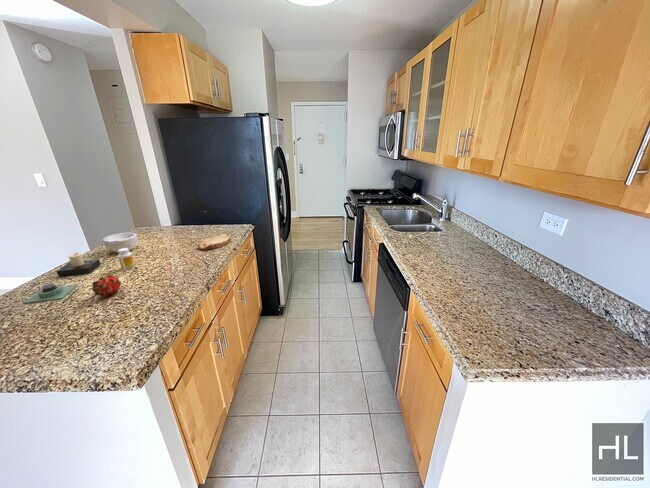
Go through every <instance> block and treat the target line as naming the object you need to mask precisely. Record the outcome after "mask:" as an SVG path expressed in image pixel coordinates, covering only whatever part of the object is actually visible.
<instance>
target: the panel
mask: <svg viewBox="0 0 650 488" xmlns="http://www.w3.org/2000/svg"><path fill="white" fill-rule="evenodd" d="M84 263H85V264H84V265H81V266H78V267H73V266H72V264H71V262H70V261H69V262H68V263H66V264H65V265H63V266H61V267H60V268H59V269H57V270H56V275H57V277H59V278H63V277H72V276H82V275H89V274H91V273H93V272H94V271H95V270H96V269H98V268H99V267H100V266H102V264H101V261H100V259H99V258H96V259H87V260H84Z"/></svg>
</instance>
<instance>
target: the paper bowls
mask: <svg viewBox="0 0 650 488" xmlns="http://www.w3.org/2000/svg"><path fill="white" fill-rule="evenodd" d="M102 242H103V245H104V248H105V249H106V250H110V251H111V252H113V253H117V254H119V253H118V250H119V249H122V248H128V250H129V251H131V250H133V249H134V248H135V246H136V245H138V243H139V240H138V236H137V234H136V233H134V232H120V233H115V234H110V235H108V236H105V237H104V238H103V239H102Z"/></svg>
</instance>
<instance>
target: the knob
mask: <svg viewBox="0 0 650 488" xmlns="http://www.w3.org/2000/svg"><path fill="white" fill-rule="evenodd" d="M68 259H69V262H71V264H72V266H73V267H78V266H81V265H84V264H85V263H84V261H85V260H84V258H83V255H82V253H79V252H75V253H73V254H70V255H68Z"/></svg>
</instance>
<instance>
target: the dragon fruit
mask: <svg viewBox="0 0 650 488" xmlns="http://www.w3.org/2000/svg"><path fill="white" fill-rule="evenodd" d="M121 285H122V281H121V280H120V279H119V276H117V275H115V274H114V275H111V274H106V275H105V276H101V277H99V278H98V279H97V280H95V281H93V282H92V287H91V290H92V292H93V293H94V296H100V297H101V298H103V297H106V298H107V297H109V296H110V295H115V294H117V293H118V291H119V290H120V287H121Z"/></svg>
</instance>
